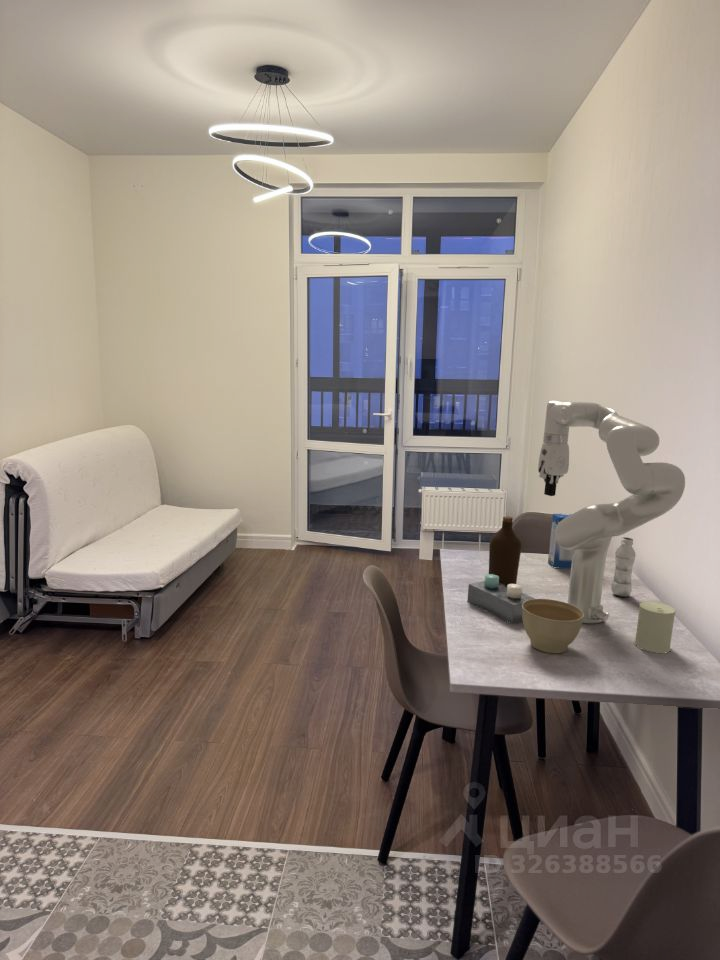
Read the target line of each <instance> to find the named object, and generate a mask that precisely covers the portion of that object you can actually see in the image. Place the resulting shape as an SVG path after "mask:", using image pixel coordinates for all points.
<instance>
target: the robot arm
mask: <svg viewBox="0 0 720 960" xmlns="http://www.w3.org/2000/svg"><path fill="white" fill-rule="evenodd" d="M546 404H547V405H546V411H545V421H544V422H545V423H544V431H543V432H544V433H543V438H542V439H543V441H542V445H541V448H540V452H539V458H538V464H537V465H538V466H537V471H538V473H539V475H538V476H539V477H538V478H541V479H543V482H544V483H545V484H544V492H543V493H544V494H543V495H545V496H549V497H555V496H556V490H557V484H558V483H559V480H560V478H563V477H564V476H565V475H566V474H568V473H569V467H570V466H569V465H570V446H569V443H568V441H569V432H570V427H571V428H572V427H573V428H574V427H581V428H582V427H587V428H594V429H596V430H598V436H599V439H600V440H601V441H602V442H604V443H605V444H606V449H607V452H608V454H609V458H610V459H611V460H610V461H611V462H612V464H613V467H614V470H615V472H616V474H617V477H618V479H619V481H620V483H621V485H622V487H623V488H624V489H625V490H626V492H627V493H629V494H631V495H629V496H628V497H625V498H623V499H622V500H620V501H617V502H612V503H601V504H599V503H598V504H592V505H589V506H586V507H583V508H582V509H579V510H578V511H575V512H573V513H571V514H572V515H570V516H568V517H566V518H564V519H563V520H562V521H560V522H559V524H558V525H557V527H556V530H555V539H556V541H557V543H558V544H559V545H560V546H561V547H562V548H564V549H567V550H576V551H575V553H574V555H573V559H572V565H571V568H570V576H569V583H568V584H569V586H568V596H567V603H568V604H571V605H573V606H576V607H577V608H579V609H580V610H582V612H583V613H584V618H583V620H582V624H599V623H602V622H607V621H608V619H609V618H610V613H609V612H606V611H604V605H602V604H601V600H602V593H603V583H604V575H605V567H606V562H607V561H606V560H607V555H608V550H609V548H610V544H611V542H612V538H614V537H619V536H623V535H625V534H627V533H629V532H630V531H633V530H635V529H636V528H639V527H642V526H644V525H645V524H647V523H648V522H650V521H651V522H652V521H653V520H655V519H658V518H659V517H661V516H664V515H665V514H667V513H668V512H670V510H672V509H673V508H674V507H675V506H677V504H678V503H679V501H680V500H681V498H682V497H683V495H684V492H685V488H686V477H685V473H684V472H683V470H682V469H681V468H680V467H679V466H677V465H676V464H673V463H668V462H643V460H642V457H645V456H648V455H651V454H654V452H655V451H656V450H657V449H658V447H659V445H660V436H659V434H658V432H657V431H656V430H654V429H653V428H652V427H650V426H648V425H645V424H642V423H640V422H637V421H634V420H632V419H629V418H626V417H624V416H622V415H619V414H618V412H617V411H616V410H614V409H612V408H610V407H608V406H604V405H602V404H600V403H597V402H596V403H595V402H585V401H584V402H583V401H582V402H580V401H579V402H576V401H574V402H573V401H566V400H563V401H562V400H549V401H548V402H547V403H546Z"/></svg>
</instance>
